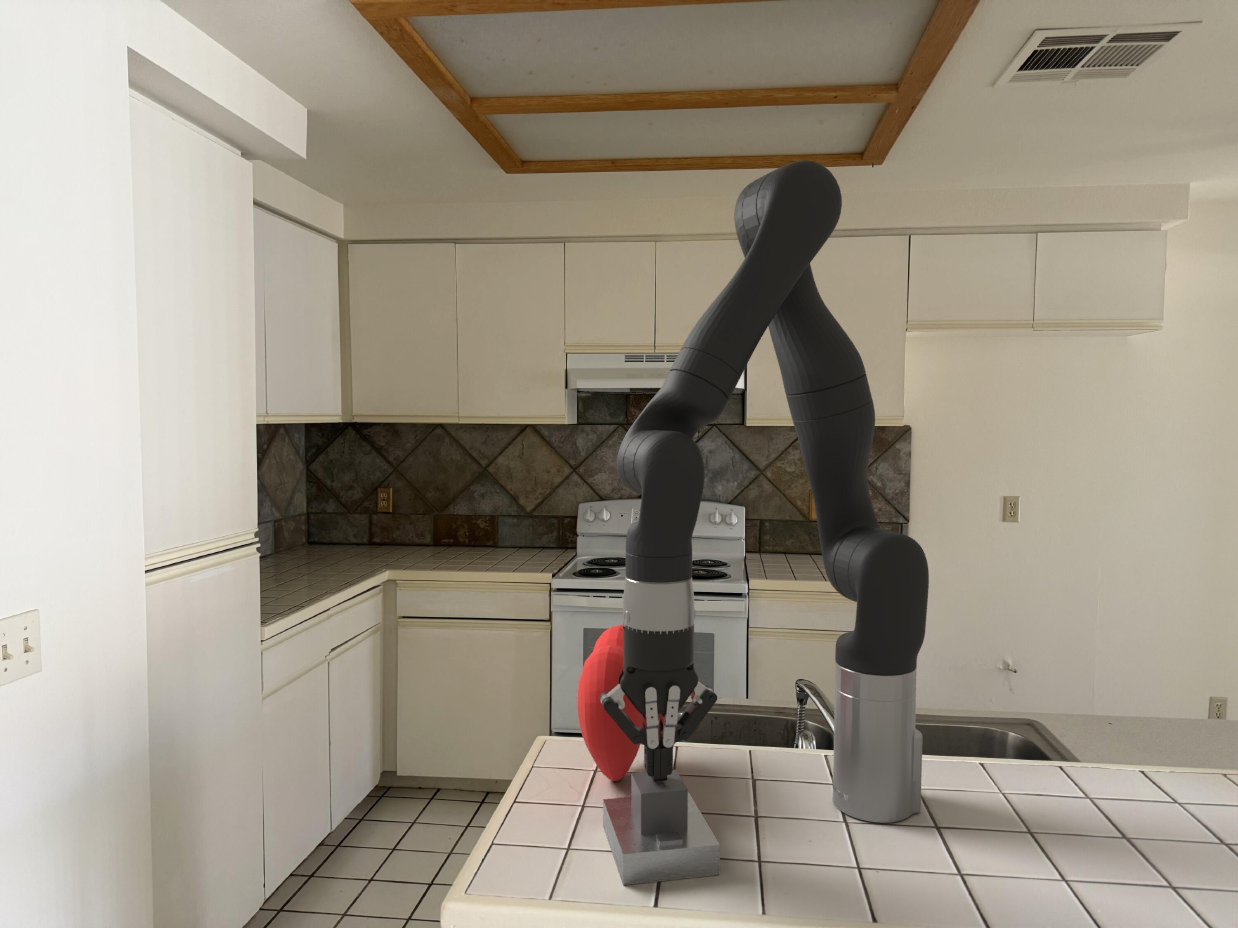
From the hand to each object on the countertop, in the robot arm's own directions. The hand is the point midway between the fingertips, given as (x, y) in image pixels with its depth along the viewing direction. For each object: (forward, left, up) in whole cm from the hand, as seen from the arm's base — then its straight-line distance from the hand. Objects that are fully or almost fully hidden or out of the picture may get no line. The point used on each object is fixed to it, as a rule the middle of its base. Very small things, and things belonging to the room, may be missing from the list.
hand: (658, 777), depth 91 cm
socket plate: (0, 0, -8) cm, 8 cm away
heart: (+1, -18, -8) cm, 19 cm away
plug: (0, 0, -8) cm, 8 cm away
